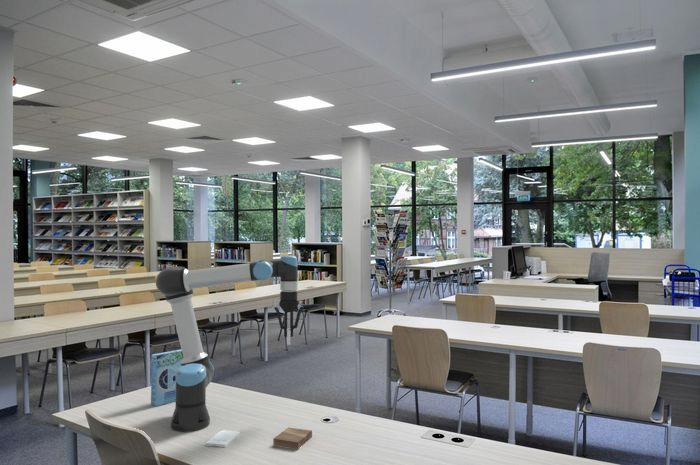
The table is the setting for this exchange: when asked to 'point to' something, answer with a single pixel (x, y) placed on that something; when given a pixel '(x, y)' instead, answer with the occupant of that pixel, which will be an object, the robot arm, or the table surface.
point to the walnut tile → (292, 438)
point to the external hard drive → (222, 438)
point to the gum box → (164, 376)
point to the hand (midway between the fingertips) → (288, 344)
